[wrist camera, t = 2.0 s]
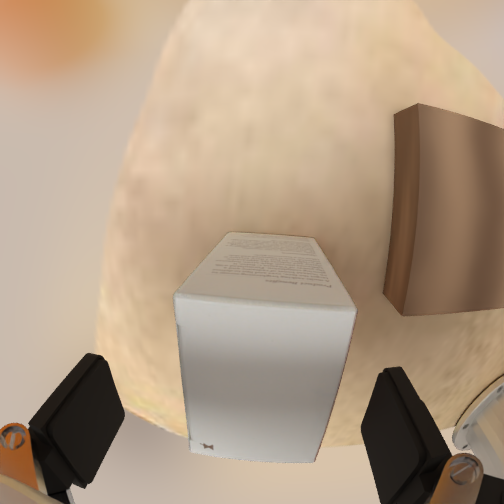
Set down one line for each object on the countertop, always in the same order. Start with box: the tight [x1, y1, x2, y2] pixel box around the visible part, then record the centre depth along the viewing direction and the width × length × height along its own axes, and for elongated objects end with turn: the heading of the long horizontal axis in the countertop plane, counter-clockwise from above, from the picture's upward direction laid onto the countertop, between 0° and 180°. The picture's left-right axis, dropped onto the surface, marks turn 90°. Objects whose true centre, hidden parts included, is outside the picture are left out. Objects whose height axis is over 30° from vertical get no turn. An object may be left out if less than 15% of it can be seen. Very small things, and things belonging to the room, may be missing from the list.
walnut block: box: [383, 103, 504, 316], centre depth 15 cm, size 12×12×4 cm
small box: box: [173, 232, 358, 463], centre depth 14 cm, size 8×6×10 cm
